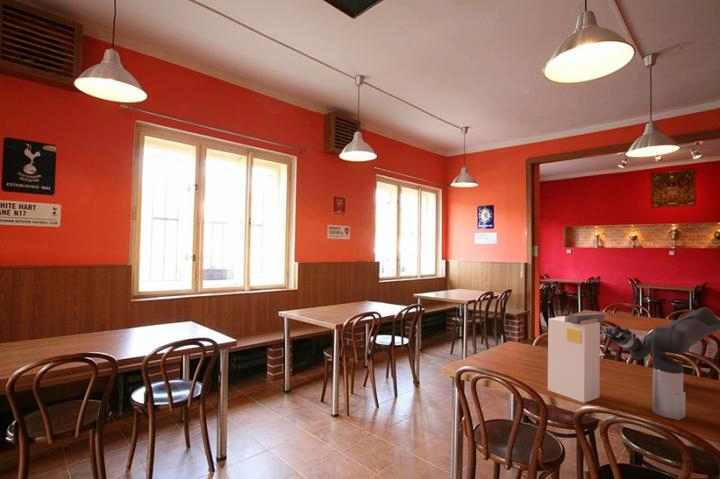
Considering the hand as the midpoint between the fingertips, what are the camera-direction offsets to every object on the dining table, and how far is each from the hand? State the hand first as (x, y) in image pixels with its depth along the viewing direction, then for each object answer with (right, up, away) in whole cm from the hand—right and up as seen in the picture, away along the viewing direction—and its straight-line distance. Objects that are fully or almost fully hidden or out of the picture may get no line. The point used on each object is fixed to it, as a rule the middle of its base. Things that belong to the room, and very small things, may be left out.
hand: (605, 326), depth 176 cm
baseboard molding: (+15, -29, +47) cm, 58 cm away
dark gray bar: (-14, +5, -9) cm, 18 cm away
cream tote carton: (-20, -27, -9) cm, 35 cm away
